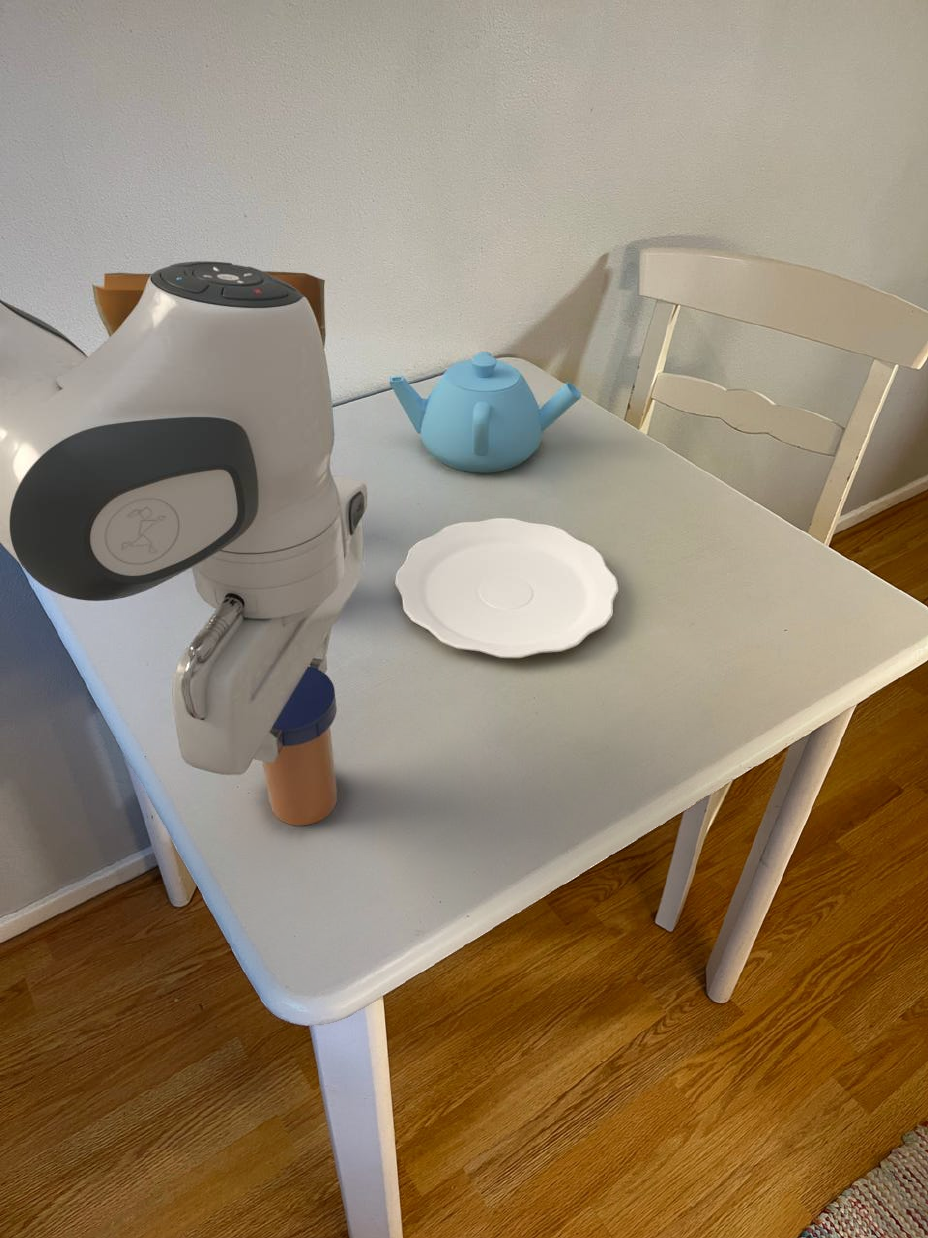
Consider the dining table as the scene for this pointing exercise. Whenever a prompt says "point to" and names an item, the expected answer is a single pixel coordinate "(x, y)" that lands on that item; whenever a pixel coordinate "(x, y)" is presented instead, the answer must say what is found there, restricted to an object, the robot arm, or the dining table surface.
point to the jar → (303, 781)
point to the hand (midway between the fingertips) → (291, 713)
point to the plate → (506, 587)
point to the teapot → (481, 414)
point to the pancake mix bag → (129, 287)
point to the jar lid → (308, 709)
